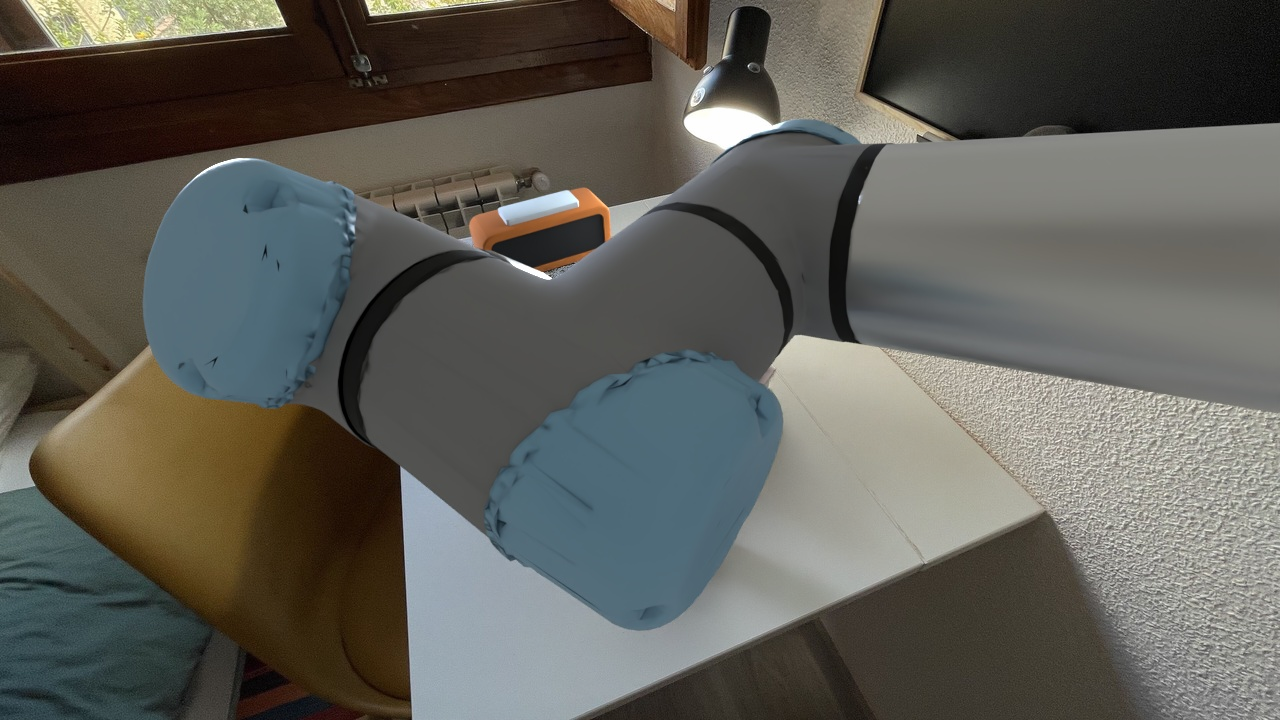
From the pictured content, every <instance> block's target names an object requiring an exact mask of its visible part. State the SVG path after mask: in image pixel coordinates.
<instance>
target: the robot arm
mask: <svg viewBox="0 0 1280 720" xmlns="http://www.w3.org/2000/svg"><path fill="white" fill-rule="evenodd" d="M142 291H143V295H142V317H143V325H144V331H145V334H146V339H147V342H148V345H149V348H150V350H151V354H152V355H153V357H154V359H155V361H156V363H157V365H158V366H159V368H160V370H161V371H162V372H163V373H164V374H165V376H166V377H167V379H169V380H170V381H171V382H172V383H173V384H174V385H176V386H177V387H179V388H180V389H182V390H183V391H185V392H187V393H188V394H190V395H193V396H197V397H200V398H203V399H206V400H214V401H215V400H217V401H226V402H227V401H228V402H236V403H237V402H238V403H245V404H255V405H256V406H258V407H260V408H262V409H263V408H264V409H267V410H268V409H280V408H282V407H283V406H284V405H301V406H306V407H311V408H314V409H316V410H319V411H321V412H323V413H324V414H326V415H327V416H328V417H330V418H331V419H332V420H333V421H334V422H336V423H337V424H339V425H340V426H341V427H342V428H343V429H345V430H346V431H347V432H349V433H350V434H351V435H353V436H354V437H355V438H356V439H358V440H359V441H360V442H361V443H363V444H364V445H366V446H369V447H370V448H371V447H372V448H373V449H376V450H378V451H379V452H381V453H383V454H384V455H386V456H387V457H388V458H390V460H392V461H393V462H394V463H396V464H397V465H399V466H400V467H401V468H402V469H403V470H404V471H406V472H407V473H408V474H410V475H411V476H412V477H413V478H414V479H416V480H417V481H418V482H419V483H421V484H422V485H423V486H425V487H426V488H427V490H429V491H431V493H433V494H434V495H435V496H437V497H438V498H439V499H440V500H442V501H443V502H444V503H445V504H447V505H448V506H449V507H450V508H451V509H452V510H454V511H455V512H456V513H457V514H458V515H460V516H461V517H462V518H464V520H466V521H467V522H468V523H470V524H471V525H472V526H473V527H474V528H476V529H477V530H478V531H479V532H481V534H483V535H484V536H485V537H487V539H489V541H490V542H491V545H492V546H493V547H494V548H495V550H497V551H498V553H500V555H502V556H503V557H504V558H505V559H507V560H508V562H513V561H517V563H519V564H520V565H521V566H522V567H524V568H530V569H531V570H533V571H534V572H536V574H537V573H538V574H539V575H540V576H541V577H542V578H543V577H544V578H545V579H546V580H548V581H549V582H550V583H552V584H554V585H555V586H556V587H559V588H560V589H561V590H563V591H564V592H565V593H567V594H569V595H570V596H572V597H573V598H575V599H577V600H578V601H579V602H580V603H581V604H583V605H585V606H586V607H588V608H589V609H590V610H592V611H594V612H595V613H596V614H597V615H600V616H601V617H602V618H604V619H605V620H606V621H608V622H610V623H611V624H613V625H614V626H616V627H619V628H622V629H626V630H629V631H642V632H643V631H644V632H645V631H646V632H647V631H650V630H651V631H652V630H654V629H658V628H662V627H663V626H666V625H668V624H669V623H671V622H673V621H675V620H677V619H678V618H679V617H680V616H681V615H683V614H684V613H685V612H687V610H688V609H689V608H690V607H691V606H692V605H693V604H694V602H695V601H696V600H697V599H698V598H699V596H700V595H701V594H702V593H703V591H704V590H705V589H706V588H707V586H708V584H709V583H710V582H711V581H712V579H713V577H714V576H715V575H716V574H717V572H718V570H719V568H720V567H721V566H722V564H723V563H724V560H725V559H726V558H727V556H728V554H729V552H730V551H731V548H732V547H733V545H734V544H735V541H736V539H737V537H738V535H739V533H740V531H741V529H742V526H743V524H744V523H745V521H746V520H747V519H748V518H749V516H750V514H751V513H752V510H753V508H754V506H755V505H756V502H757V501H758V498H759V496H760V494H761V493H762V490H763V488H764V486H765V484H766V481H767V478H768V477H769V474H770V472H771V470H772V467H773V464H774V462H775V459H776V456H777V453H778V451H779V447H780V443H781V440H782V437H783V430H784V417H783V416H784V413H783V409H782V406H781V403H780V401H779V399H778V397H777V396H776V395H775V393H774V392H773V391H772V390H771V389H770V388H769V387H768V388H767V387H766V386H765V385H763V384H762V383H760V382H758V381H759V380H760V379H761V378H762V376H763V375H764V374H765V372H766V371H767V370H768V368H769V367H772V365H773V363H774V362H775V360H776V359H777V357H778V356H780V354H781V353H782V351H783V350H784V349H785V348H786V347H787V345H788V344H789V343H790V342H791V340H792V339H794V337H795V336H805V337H810V338H814V339H821V340H825V341H826V340H827V341H834V342H839V343H850V344H858V345H862V346H869V347H875V348H881V349H882V348H883V349H887V350H888V349H889V350H892V351H893V350H894V351H899V352H906V353H912V354H918V355H922V356H923V355H924V356H929V357H934V358H935V357H936V358H942V359H946V360H947V359H949V360H954V361H959V362H965V363H966V362H967V363H972V364H978V365H983V366H991V367H996V368H1001V369H1008V370H1014V371H1020V372H1027V373H1032V374H1038V375H1045V376H1051V377H1057V378H1063V379H1067V380H1074V381H1081V382H1086V383H1087V382H1088V383H1093V384H1098V385H1099V384H1100V385H1104V386H1105V385H1106V386H1112V387H1117V388H1123V389H1130V390H1135V391H1142V392H1147V393H1154V394H1159V395H1165V396H1171V397H1178V398H1184V399H1190V400H1196V401H1203V402H1208V403H1214V404H1220V405H1226V406H1233V407H1239V408H1244V409H1250V410H1257V411H1261V412H1262V411H1263V412H1267V413H1269V412H1270V413H1276V414H1280V122H1277V123H1275V122H1273V123H1257V124H1256V123H1255V124H1237V125H1236V124H1235V125H1221V126H1219V125H1218V126H1202V127H1201V126H1199V127H1185V128H1184V127H1182V128H1181V127H1180V128H1166V129H1165V128H1164V129H1145V130H1128V131H1127V130H1126V131H1125V130H1124V131H1110V132H1092V133H1090V132H1089V133H1073V134H1053V135H1051V134H1050V135H1035V136H1033V135H1032V136H1017V137H1000V138H999V137H998V138H980V139H963V140H942V141H925V142H922V141H921V142H905V143H894V142H886V143H885V142H884V143H883V142H882V143H881V142H880V143H862V142H861V141H860V140H859V139H858V138H857V137H856V136H854V135H853V134H851V133H849V132H847V131H845V130H843V129H842V128H840V127H838V126H837V125H833V124H830V123H828V122H826V121H823V120H818V119H815V118H813V119H812V118H811V119H810V118H797V119H789V120H786V121H783V122H779V123H776V124H774V125H771V126H769V127H767V128H765V129H764V130H761V131H760V132H757V133H754V134H751V135H747V136H746V137H744V138H743V139H741V140H740V141H739V142H738V143H736V144H735V145H730V146H729V147H727V148H726V149H725V150H724V151H723V152H722V153H720V154H719V156H717V158H715V159H714V160H713V161H712V162H711V164H710V165H709V166H708V167H706V168H705V169H704V170H702V171H701V172H700V173H699V174H697V175H696V176H694V177H693V178H691V179H690V180H689V181H687V182H686V183H685V184H683V185H682V186H681V187H679V188H678V189H677V190H675V191H674V192H672V193H671V194H669V196H667V197H666V198H664V199H663V200H661V201H660V202H659V203H657V204H656V205H655V206H653V207H652V208H650V209H649V210H648V211H646V212H645V213H644V214H643V215H641V216H640V217H638V218H637V219H636V220H635V221H633V222H631V223H630V224H628V225H627V226H626V227H625V228H623V229H621V230H620V231H619V232H617V233H616V234H614V235H613V236H611V238H610V239H609V240H608V241H606V242H605V243H603V244H602V245H601V246H599V247H598V248H596V249H595V250H594V251H592V252H591V253H589V254H588V255H587V256H585V257H584V258H582V259H581V260H580V261H577V262H575V263H574V264H573V265H571V266H570V267H568V268H567V269H566V270H565V271H563V272H562V273H561V274H559V275H557V276H556V277H551V276H549V275H548V274H546V273H545V272H541V271H538V270H536V269H534V268H531V267H529V266H526V265H524V264H522V263H519V262H517V261H515V260H512V259H510V258H508V257H505V256H503V255H501V254H498V253H496V252H494V251H491V250H483V249H480V248H477V247H474V245H471V244H470V243H467V242H465V241H463V240H461V239H458V238H456V237H454V236H453V235H450V234H447V233H445V232H443V231H441V230H439V229H438V228H435V227H433V226H430V225H428V224H426V223H424V222H421V221H419V220H417V219H414V218H412V217H410V216H407V215H405V214H403V213H400V212H399V211H396V210H393V209H391V208H388V207H387V206H384V205H381V204H379V203H376V202H374V201H372V200H369V199H367V198H365V197H363V196H360V195H358V194H356V193H354V191H353V190H352V189H350V188H349V187H347V186H345V185H342V184H339V183H337V182H335V181H333V180H329V181H323V180H321V179H318V178H314V177H312V176H309V175H306V174H305V173H301V172H298V171H296V170H294V169H290V168H287V167H284V166H282V165H279V164H277V163H274V162H271V161H268V160H265V159H261V158H253V157H252V158H249V157H248V158H234V159H233V158H232V159H229V160H226V161H223V162H219V163H217V164H214V165H212V166H210V167H208V168H206V169H205V170H203V171H201V172H200V173H198V174H197V175H196V176H195V177H194V178H192V180H191V181H190V182H188V184H186V185H185V186H184V187H183V188H182V189H181V191H180V192H179V193H178V194H177V196H176V197H175V199H174V200H173V201H172V202H171V205H170V206H169V207H168V209H167V211H165V213H164V216H163V218H162V220H161V223H160V225H159V227H158V229H157V232H156V235H155V238H154V240H153V243H152V246H151V249H150V251H149V254H148V258H147V262H146V266H145V272H144V281H143V290H142Z"/></svg>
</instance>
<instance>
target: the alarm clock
mask: <svg viewBox="0 0 1280 720" xmlns="http://www.w3.org/2000/svg"><path fill="white" fill-rule="evenodd" d="M468 227H469V228H468V229H469V233H470V237H471V240H472V244H473V246H474V247H477V248H480V249H483V250H491V251H494V252H496V253H498V254H501V255H503V256H505V257H508V258H510V259H512V260H515V261H517V262H519V263H522V264H524V265H526V266H529V267H531V268H534V269H536V270H538V271H541V272H543V273H545V272H547V271H551V270H554V269H555V270H556V269H559V268H560V267H561V268H562V267H564V266H567V265H570V264H573V263H574V264H575V263H577V262H578V261H580V260H581V259H582V258H584V257H585V256H587V255H588V254H589V253H591V252H592V251H594V250H595V249H596V248H598V247H599V246H601V245H602V244H603V243H605V242H606V241H608V240H609V239H610V238H612V228H611V213H610V209H609V207H608V206H607V205H606V204H605V203H604V202H602V200H601V199H600V198H599V197H597V195H596V194H594V192H592V191H591V190H590V189H589V188H587V187H578V188H575V189H571V190H568V189H565V190H561V191H558V192H554V193H549V194H546V195H541V196H538V197H535V198H531V199H527V200H523V201H519V202H514V203H512V204H508V205H504V206H500V207H498V208H497V209H494V210H491V211H487V212H482V213H478V214H476V215H474V216H473V217H471V219H470V221H469V224H468Z"/></svg>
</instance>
